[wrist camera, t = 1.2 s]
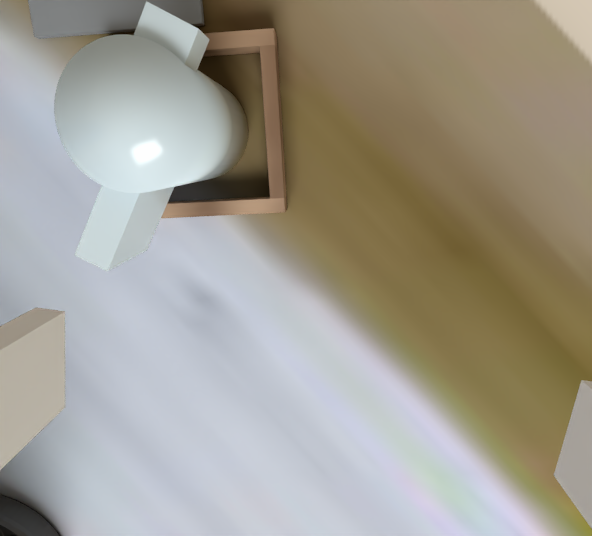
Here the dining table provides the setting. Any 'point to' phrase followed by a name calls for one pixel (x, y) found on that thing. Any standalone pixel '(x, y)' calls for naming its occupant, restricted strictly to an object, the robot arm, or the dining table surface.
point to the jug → (143, 129)
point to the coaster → (102, 15)
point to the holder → (277, 202)
